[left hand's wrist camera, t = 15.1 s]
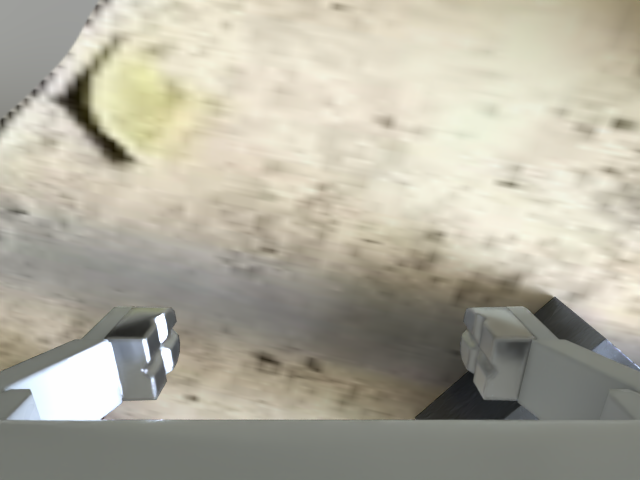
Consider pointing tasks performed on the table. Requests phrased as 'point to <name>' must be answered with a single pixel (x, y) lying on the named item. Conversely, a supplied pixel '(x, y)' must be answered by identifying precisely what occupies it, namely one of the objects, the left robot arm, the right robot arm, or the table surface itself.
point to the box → (470, 405)
